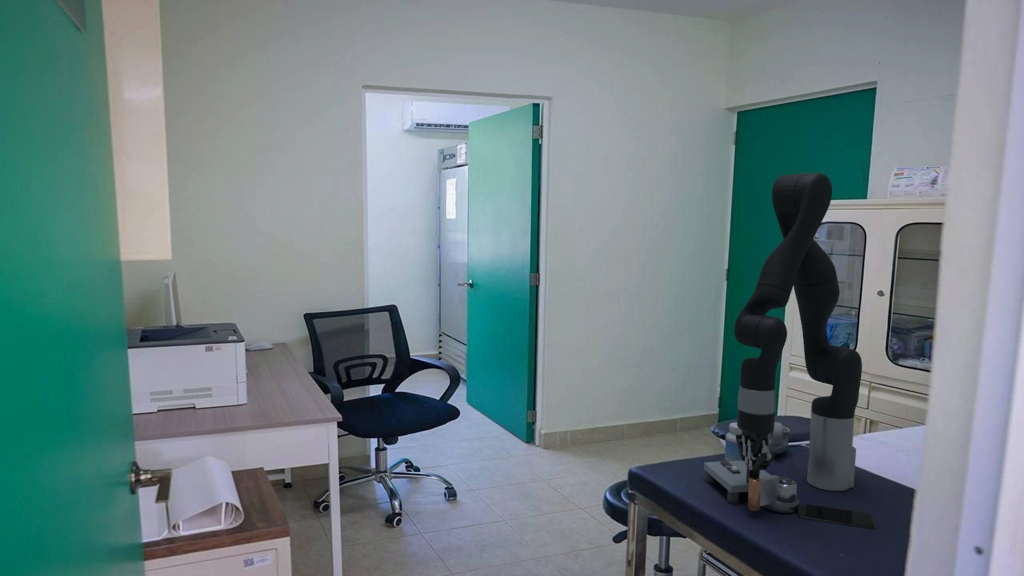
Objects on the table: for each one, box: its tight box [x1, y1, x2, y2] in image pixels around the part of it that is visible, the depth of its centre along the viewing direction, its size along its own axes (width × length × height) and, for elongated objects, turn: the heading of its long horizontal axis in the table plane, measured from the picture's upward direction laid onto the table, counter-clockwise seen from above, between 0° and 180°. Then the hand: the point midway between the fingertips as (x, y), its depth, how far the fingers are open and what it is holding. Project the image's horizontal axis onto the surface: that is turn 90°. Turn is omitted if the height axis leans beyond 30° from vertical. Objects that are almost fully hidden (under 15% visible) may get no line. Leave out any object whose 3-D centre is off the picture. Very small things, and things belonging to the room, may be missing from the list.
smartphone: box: [795, 502, 877, 530], centre depth 143 cm, size 7×1×15 cm
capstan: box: [747, 474, 800, 514], centre depth 146 cm, size 14×8×8 cm, turn 117°
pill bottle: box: [724, 422, 742, 461], centre depth 169 cm, size 6×6×11 cm
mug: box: [768, 421, 791, 456], centre depth 179 cm, size 10×12×10 cm
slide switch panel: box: [703, 460, 773, 505], centre depth 156 cm, size 12×14×6 cm
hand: (752, 484), depth 146 cm, fingers closed
